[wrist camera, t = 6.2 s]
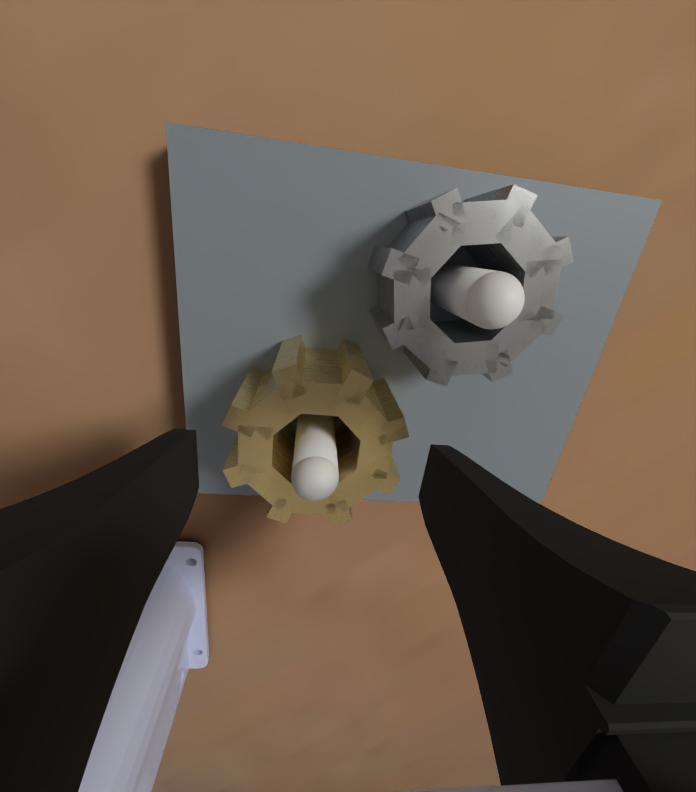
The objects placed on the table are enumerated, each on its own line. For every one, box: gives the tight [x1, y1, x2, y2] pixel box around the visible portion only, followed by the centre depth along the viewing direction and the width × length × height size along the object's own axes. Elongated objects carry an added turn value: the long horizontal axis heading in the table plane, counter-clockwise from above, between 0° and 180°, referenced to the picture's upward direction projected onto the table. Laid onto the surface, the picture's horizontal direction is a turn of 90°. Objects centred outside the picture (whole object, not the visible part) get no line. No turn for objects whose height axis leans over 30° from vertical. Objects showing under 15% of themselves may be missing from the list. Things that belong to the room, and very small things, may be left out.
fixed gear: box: [367, 184, 574, 386], centre depth 11 cm, size 5×5×3 cm
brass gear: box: [222, 335, 409, 526], centre depth 12 cm, size 6×6×4 cm
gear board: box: [166, 122, 662, 504], centre depth 12 cm, size 13×16×6 cm
